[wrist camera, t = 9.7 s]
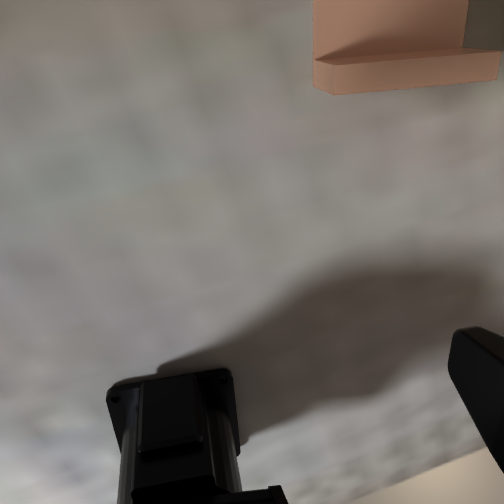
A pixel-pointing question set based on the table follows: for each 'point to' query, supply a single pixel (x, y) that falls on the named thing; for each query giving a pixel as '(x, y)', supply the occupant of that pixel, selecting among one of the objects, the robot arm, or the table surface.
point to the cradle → (394, 46)
